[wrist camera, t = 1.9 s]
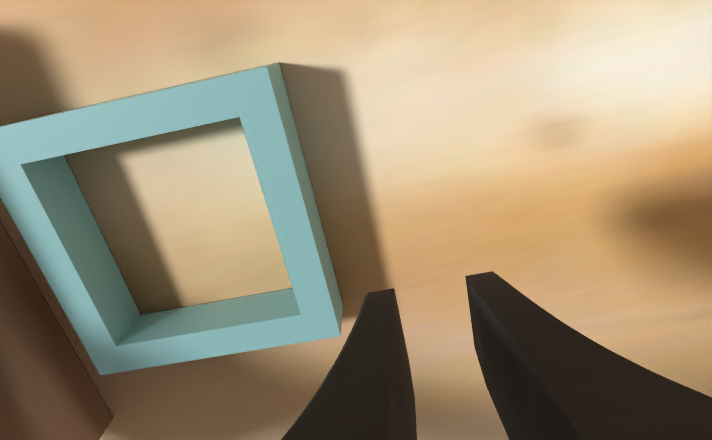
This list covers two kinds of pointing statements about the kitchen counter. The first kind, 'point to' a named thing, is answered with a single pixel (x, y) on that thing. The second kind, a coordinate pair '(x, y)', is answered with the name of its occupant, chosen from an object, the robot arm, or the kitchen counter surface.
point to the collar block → (95, 262)
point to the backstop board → (40, 365)
